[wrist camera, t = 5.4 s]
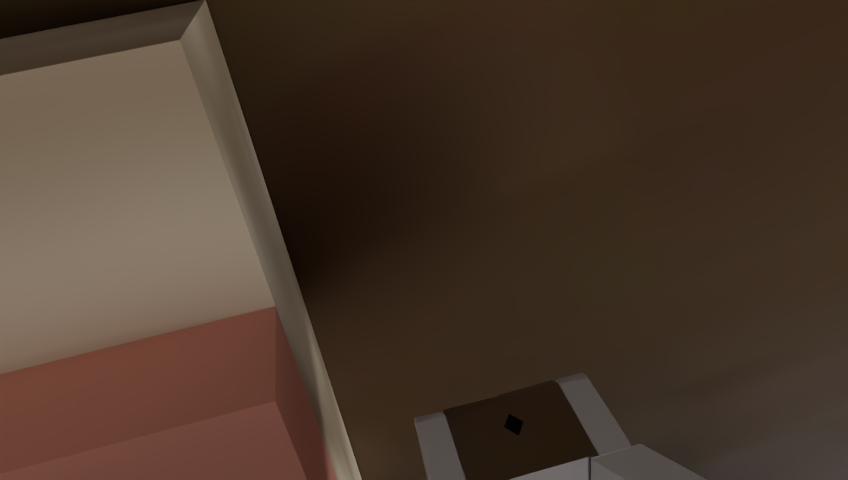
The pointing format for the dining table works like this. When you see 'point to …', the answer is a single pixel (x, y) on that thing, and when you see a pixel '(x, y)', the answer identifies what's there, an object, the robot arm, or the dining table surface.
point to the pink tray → (167, 410)
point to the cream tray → (138, 199)
